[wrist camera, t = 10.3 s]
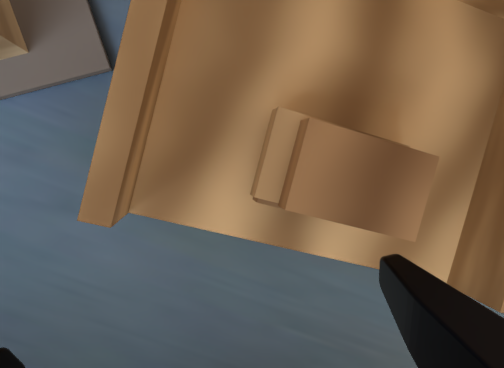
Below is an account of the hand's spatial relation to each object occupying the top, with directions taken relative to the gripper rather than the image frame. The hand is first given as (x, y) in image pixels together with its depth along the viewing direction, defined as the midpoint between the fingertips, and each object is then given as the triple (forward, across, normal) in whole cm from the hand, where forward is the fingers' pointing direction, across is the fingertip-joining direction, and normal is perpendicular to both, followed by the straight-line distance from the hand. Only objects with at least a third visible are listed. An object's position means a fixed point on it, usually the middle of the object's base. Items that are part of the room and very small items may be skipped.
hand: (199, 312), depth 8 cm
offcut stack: (+9, -6, +3) cm, 11 cm away
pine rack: (+12, -7, +1) cm, 14 cm away
